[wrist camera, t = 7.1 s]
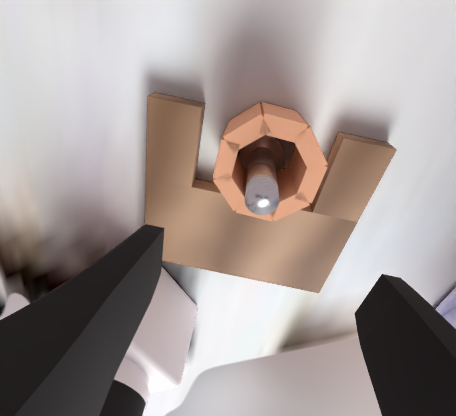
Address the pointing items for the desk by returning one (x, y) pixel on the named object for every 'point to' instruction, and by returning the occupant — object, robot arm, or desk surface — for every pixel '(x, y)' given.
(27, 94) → the desk surface
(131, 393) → the medicine bottle
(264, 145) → the post
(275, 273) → the wooden u-shaped block
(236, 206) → the hollow octagonal tube
